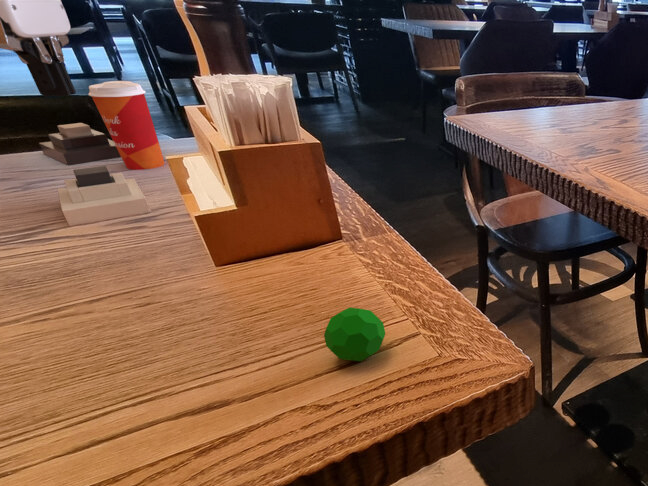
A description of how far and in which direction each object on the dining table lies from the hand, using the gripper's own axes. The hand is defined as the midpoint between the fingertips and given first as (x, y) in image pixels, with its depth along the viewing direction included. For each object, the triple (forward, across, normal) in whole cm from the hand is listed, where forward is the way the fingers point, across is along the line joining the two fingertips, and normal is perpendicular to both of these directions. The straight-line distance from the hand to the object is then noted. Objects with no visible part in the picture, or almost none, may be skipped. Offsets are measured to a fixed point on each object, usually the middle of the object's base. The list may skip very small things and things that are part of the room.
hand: (59, 94), depth 70 cm
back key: (+12, -31, -20) cm, 39 cm away
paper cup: (+16, -23, -6) cm, 29 cm away
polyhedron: (+17, +44, +43) cm, 64 cm away
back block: (+16, -31, -20) cm, 40 cm away
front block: (+16, 0, 0) cm, 16 cm away
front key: (+12, 0, 0) cm, 12 cm away
